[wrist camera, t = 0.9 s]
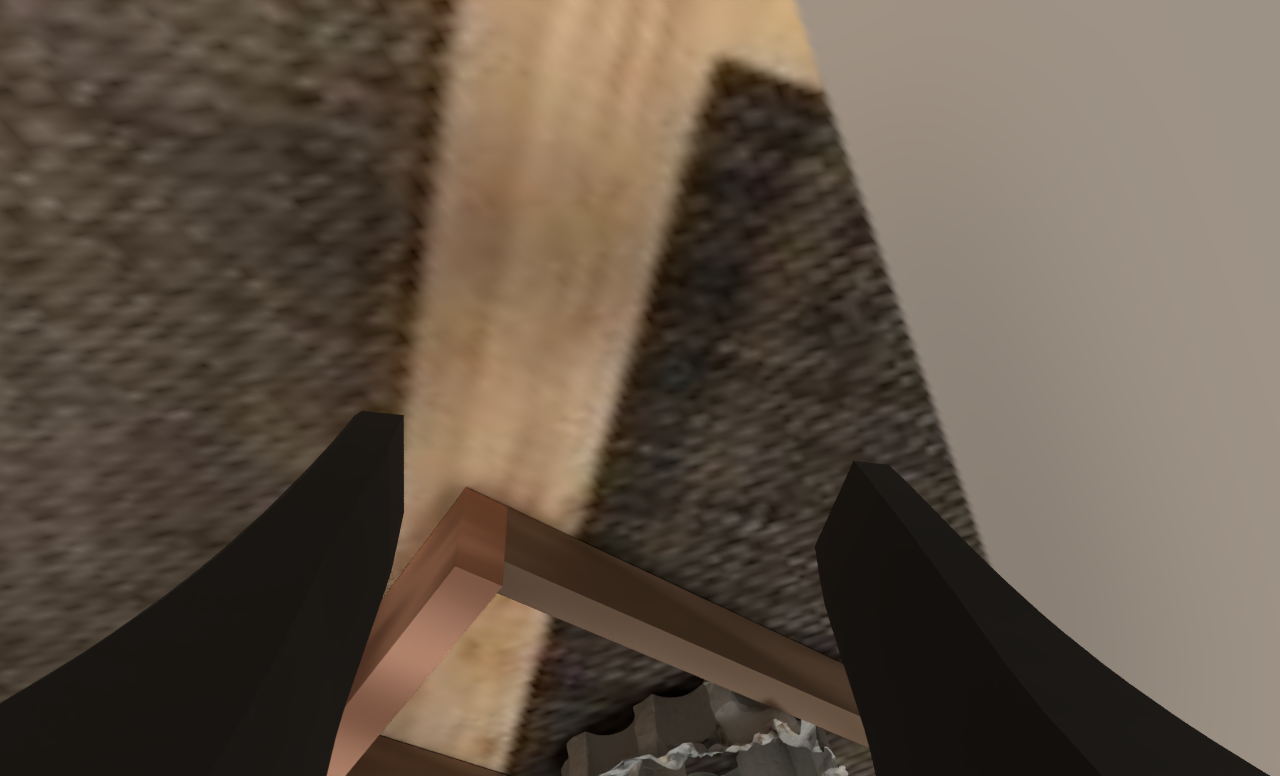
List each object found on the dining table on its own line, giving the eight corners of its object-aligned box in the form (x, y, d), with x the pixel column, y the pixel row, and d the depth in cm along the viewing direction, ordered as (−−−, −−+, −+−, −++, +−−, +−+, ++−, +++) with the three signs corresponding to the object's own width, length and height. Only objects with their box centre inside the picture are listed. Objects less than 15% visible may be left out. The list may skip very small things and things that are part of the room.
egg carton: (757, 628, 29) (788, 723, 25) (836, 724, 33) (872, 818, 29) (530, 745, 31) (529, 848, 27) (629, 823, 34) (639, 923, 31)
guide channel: (686, 849, 36) (700, 932, 33) (285, 728, 28) (255, 821, 25) (885, 683, 31) (921, 762, 28) (466, 487, 24) (455, 566, 21)
